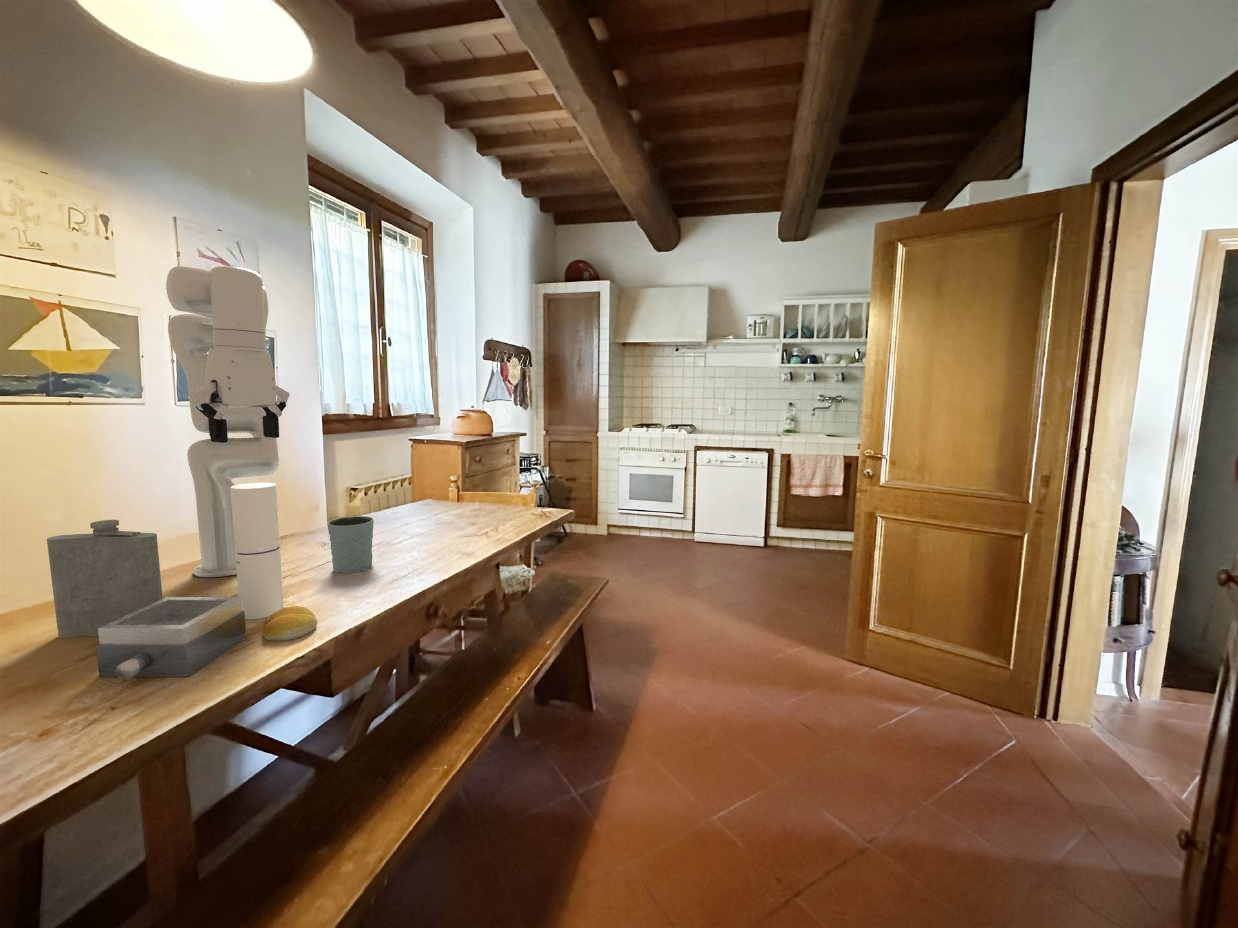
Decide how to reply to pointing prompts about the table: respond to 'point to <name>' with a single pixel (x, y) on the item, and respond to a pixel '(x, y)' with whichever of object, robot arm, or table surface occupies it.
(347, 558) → the green cup
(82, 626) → the hip flask
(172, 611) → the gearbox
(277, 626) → the bread roll
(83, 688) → the table surface
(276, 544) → the cylindrical container
